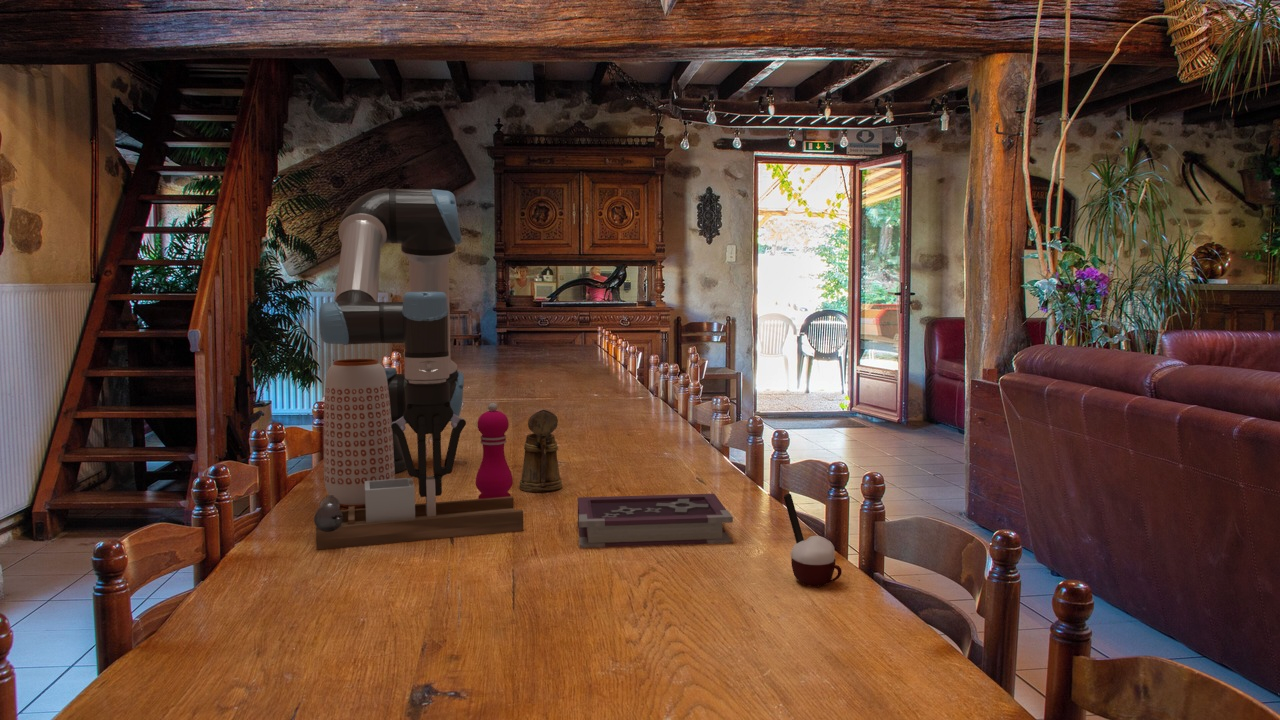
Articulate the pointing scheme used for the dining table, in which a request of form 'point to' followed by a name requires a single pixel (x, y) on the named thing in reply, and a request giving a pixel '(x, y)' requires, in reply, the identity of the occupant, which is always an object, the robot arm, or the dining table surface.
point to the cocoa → (810, 554)
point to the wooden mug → (541, 455)
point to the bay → (425, 523)
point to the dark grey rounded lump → (328, 514)
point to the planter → (356, 429)
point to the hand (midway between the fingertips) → (431, 514)
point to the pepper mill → (493, 455)
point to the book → (652, 520)
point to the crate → (389, 500)
